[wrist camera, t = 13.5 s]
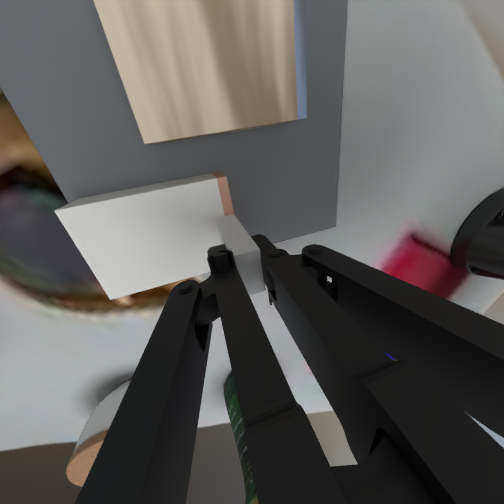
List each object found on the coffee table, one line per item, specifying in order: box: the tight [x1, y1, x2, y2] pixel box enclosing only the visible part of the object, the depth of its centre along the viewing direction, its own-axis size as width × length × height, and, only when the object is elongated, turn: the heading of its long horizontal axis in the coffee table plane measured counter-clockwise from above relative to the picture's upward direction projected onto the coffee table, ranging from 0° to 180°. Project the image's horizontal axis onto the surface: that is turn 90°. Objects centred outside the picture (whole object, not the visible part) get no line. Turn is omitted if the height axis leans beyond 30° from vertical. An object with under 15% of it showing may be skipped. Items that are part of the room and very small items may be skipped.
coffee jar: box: [224, 374, 259, 504], centre depth 28 cm, size 10×8×19 cm
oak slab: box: [94, 0, 307, 145], centre depth 15 cm, size 4×8×12 cm
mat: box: [0, 0, 348, 244], centre depth 19 cm, size 26×21×1 cm
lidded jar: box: [66, 380, 131, 487], centre depth 26 cm, size 11×11×9 cm
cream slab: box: [55, 171, 234, 300], centre depth 19 cm, size 4×8×12 cm
